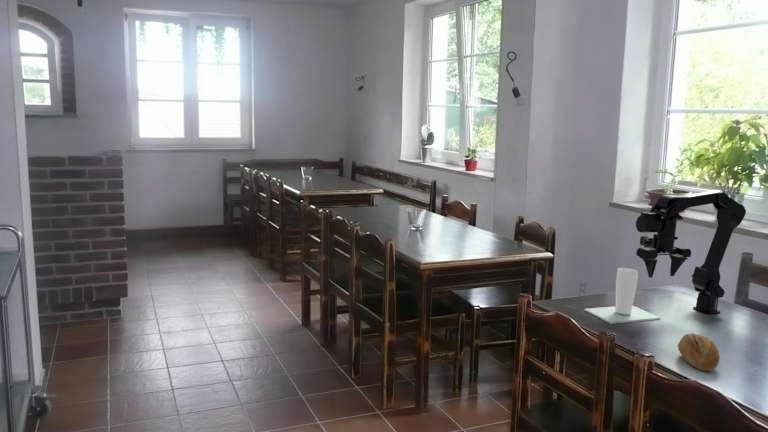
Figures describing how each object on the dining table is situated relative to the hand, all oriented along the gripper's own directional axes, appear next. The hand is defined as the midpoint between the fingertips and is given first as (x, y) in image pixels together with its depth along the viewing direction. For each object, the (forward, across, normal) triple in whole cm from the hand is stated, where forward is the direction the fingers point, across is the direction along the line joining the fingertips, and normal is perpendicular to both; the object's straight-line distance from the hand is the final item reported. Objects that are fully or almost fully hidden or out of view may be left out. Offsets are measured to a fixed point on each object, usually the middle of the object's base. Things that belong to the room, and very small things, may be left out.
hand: (661, 276), depth 224 cm
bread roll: (+13, +22, +40) cm, 47 cm away
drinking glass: (+12, +14, -1) cm, 19 cm away
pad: (+13, +14, -1) cm, 19 cm away
